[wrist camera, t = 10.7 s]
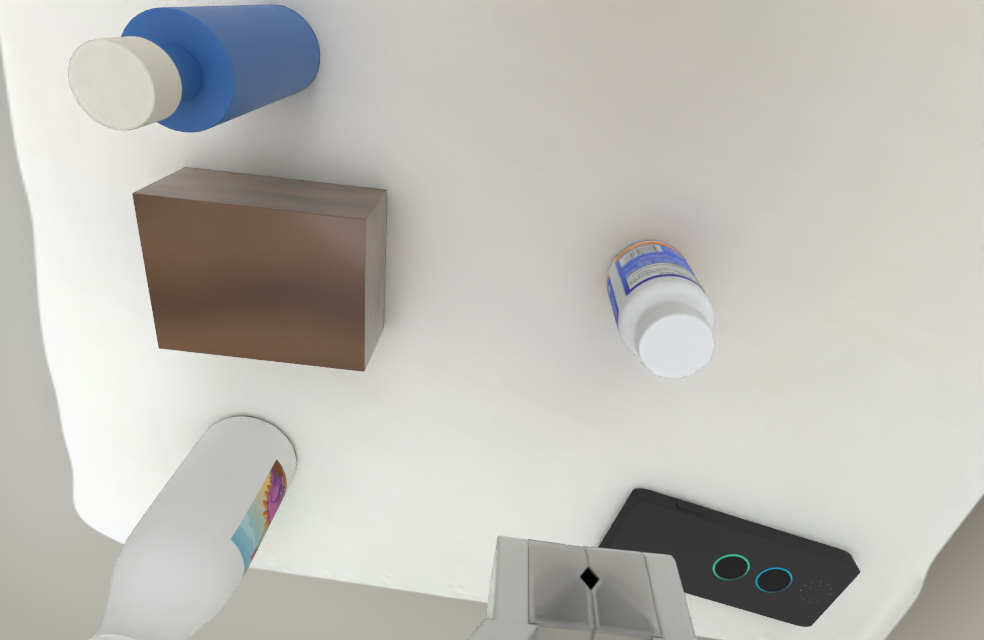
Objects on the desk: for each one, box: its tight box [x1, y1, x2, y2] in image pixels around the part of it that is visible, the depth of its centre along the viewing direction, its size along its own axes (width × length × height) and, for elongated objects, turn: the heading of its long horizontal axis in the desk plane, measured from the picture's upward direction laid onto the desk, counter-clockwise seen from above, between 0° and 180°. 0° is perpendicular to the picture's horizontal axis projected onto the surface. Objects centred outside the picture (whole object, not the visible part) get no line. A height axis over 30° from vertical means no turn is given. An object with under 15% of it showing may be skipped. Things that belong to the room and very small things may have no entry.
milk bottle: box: [88, 416, 296, 640], centre depth 41 cm, size 8×8×20 cm
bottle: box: [68, 5, 320, 132], centre depth 29 cm, size 14×5×15 cm
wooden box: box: [133, 167, 387, 371], centre depth 39 cm, size 10×13×6 cm
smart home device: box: [599, 489, 860, 627], centre depth 52 cm, size 8×2×20 cm
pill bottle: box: [607, 241, 715, 378], centre depth 37 cm, size 5×5×10 cm
